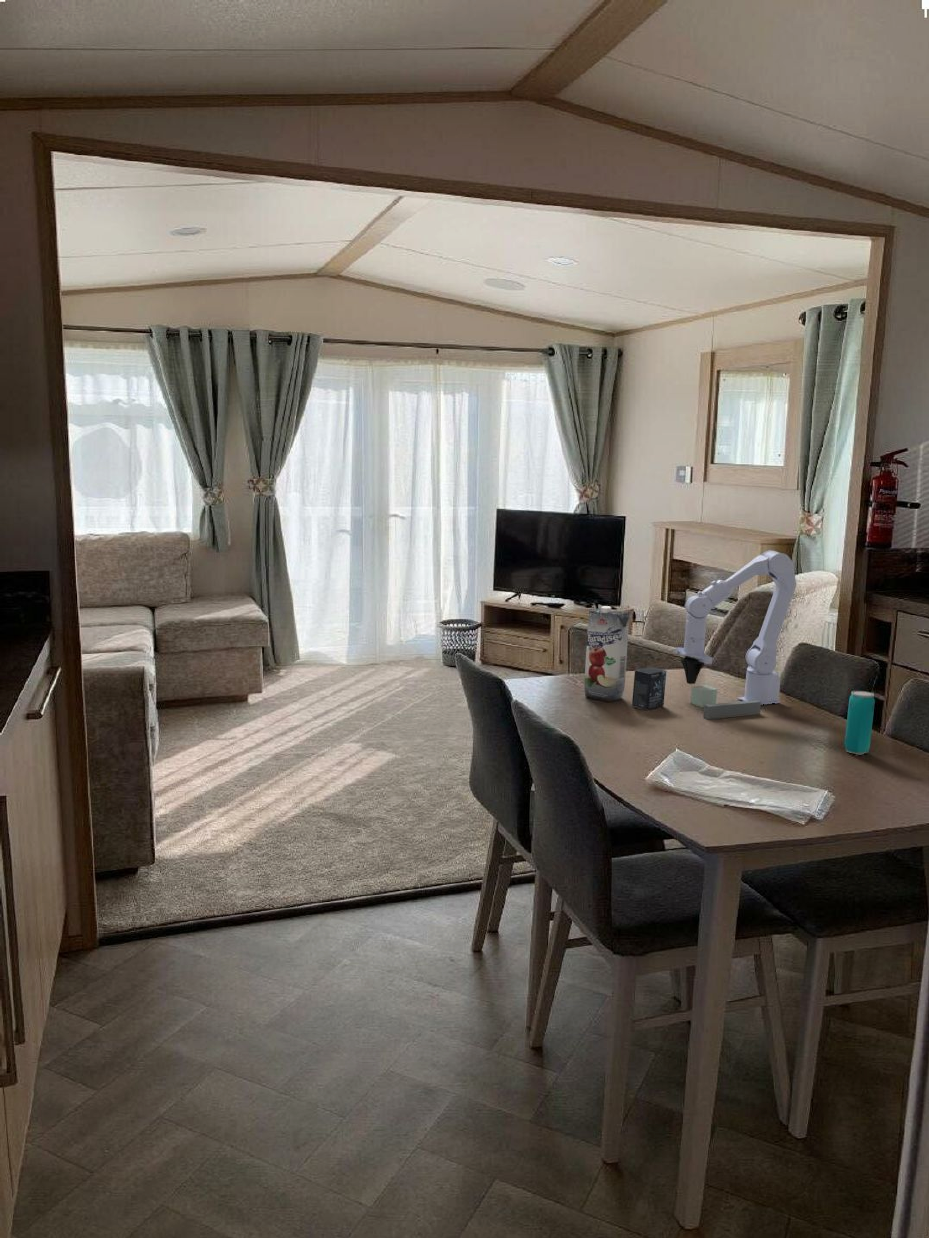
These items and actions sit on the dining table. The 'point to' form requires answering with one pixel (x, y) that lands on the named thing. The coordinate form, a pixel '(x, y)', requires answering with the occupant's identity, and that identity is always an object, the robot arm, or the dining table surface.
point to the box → (649, 688)
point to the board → (732, 709)
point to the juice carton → (606, 653)
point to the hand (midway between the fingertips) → (690, 683)
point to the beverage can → (859, 722)
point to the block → (703, 695)
